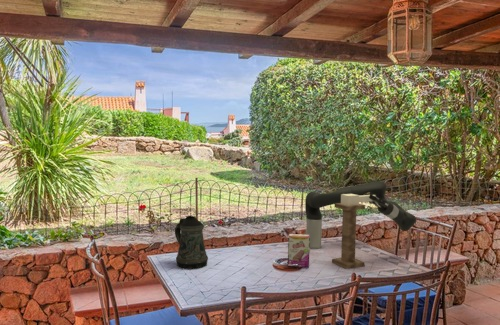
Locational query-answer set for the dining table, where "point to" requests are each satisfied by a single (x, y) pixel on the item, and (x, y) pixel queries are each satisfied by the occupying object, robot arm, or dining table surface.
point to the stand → (348, 237)
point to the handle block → (354, 199)
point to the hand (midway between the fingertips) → (367, 195)
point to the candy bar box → (299, 249)
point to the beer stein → (190, 244)
